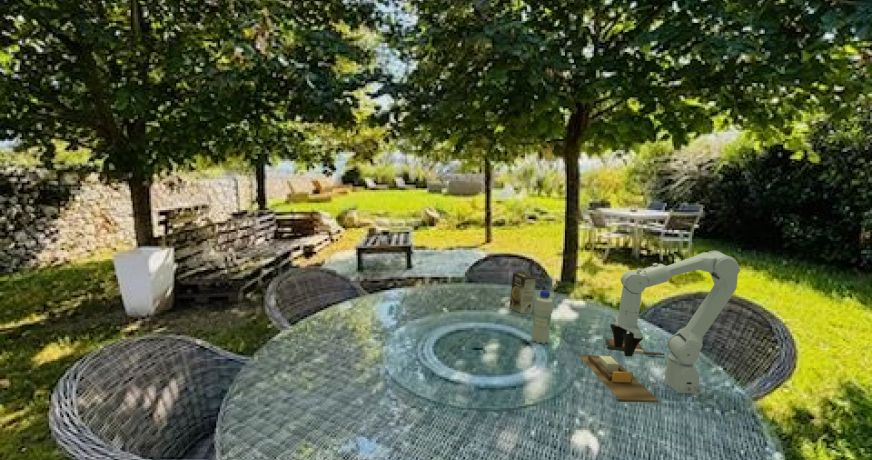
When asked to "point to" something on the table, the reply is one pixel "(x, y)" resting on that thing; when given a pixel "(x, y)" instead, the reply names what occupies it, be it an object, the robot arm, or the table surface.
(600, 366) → the cradle
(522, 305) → the coffee box
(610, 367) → the plug
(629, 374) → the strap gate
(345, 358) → the table surface
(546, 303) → the bottle
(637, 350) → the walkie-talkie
